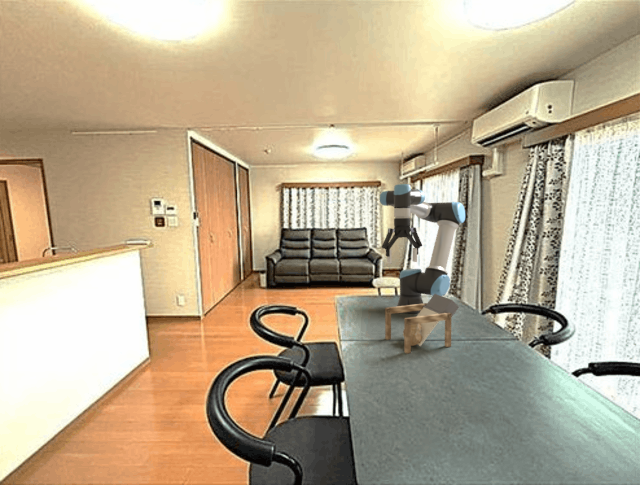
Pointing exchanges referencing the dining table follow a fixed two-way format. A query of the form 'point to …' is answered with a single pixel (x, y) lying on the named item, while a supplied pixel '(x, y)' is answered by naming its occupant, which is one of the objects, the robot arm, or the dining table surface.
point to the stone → (415, 334)
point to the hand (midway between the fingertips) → (402, 262)
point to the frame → (416, 320)
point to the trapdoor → (435, 307)
